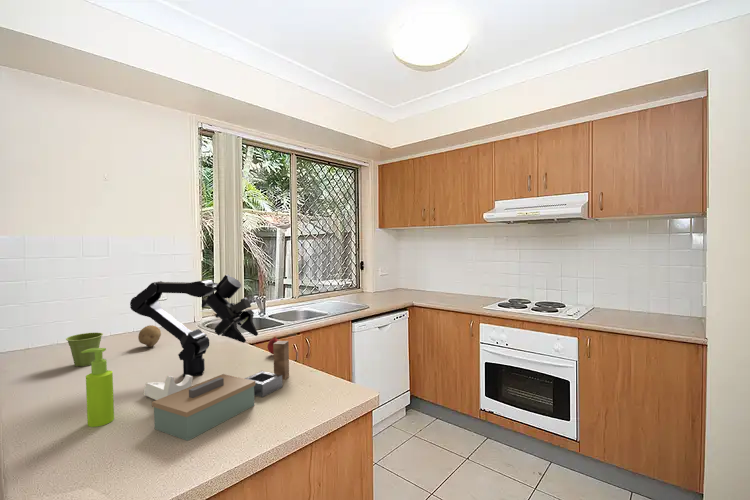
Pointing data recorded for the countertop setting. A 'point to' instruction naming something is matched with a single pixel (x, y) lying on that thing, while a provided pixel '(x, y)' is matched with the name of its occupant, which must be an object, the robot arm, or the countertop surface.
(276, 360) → the walnut key
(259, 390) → the grey shallow box
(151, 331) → the potato
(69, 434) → the countertop surface
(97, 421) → the soap dispenser
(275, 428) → the countertop surface
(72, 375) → the countertop surface
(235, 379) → the toolbox
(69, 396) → the countertop surface
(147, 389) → the bracket
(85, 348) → the plant pot
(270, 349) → the onion
